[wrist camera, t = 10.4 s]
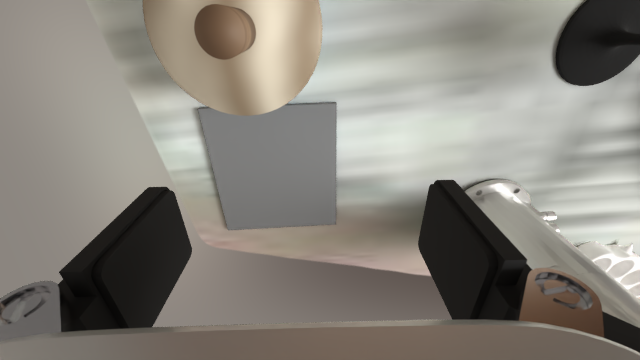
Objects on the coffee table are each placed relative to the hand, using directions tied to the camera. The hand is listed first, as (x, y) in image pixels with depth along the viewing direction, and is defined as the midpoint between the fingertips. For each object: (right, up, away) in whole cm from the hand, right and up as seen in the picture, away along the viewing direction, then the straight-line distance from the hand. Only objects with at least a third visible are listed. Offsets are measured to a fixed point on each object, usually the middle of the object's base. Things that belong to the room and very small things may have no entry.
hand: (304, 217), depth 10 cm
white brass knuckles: (+52, -15, +41) cm, 68 cm away
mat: (-5, +2, +27) cm, 27 cm away
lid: (-6, +14, +13) cm, 20 cm away
